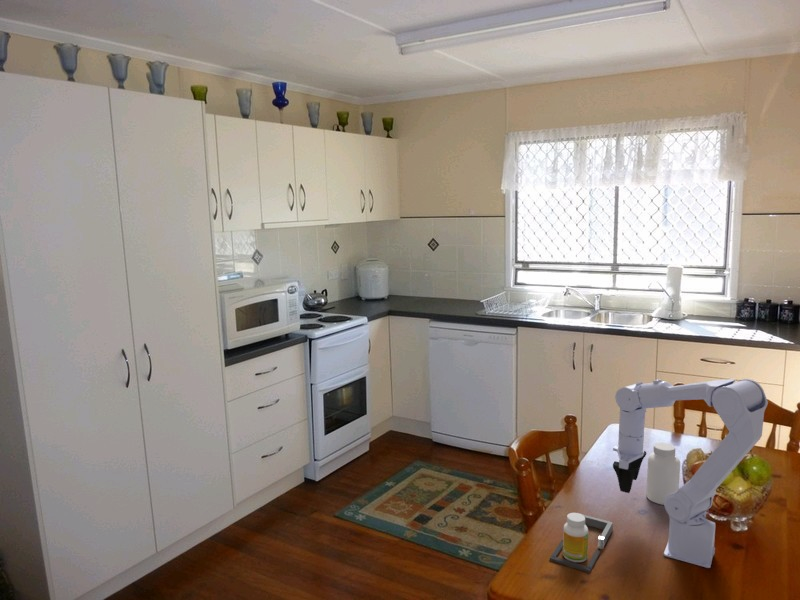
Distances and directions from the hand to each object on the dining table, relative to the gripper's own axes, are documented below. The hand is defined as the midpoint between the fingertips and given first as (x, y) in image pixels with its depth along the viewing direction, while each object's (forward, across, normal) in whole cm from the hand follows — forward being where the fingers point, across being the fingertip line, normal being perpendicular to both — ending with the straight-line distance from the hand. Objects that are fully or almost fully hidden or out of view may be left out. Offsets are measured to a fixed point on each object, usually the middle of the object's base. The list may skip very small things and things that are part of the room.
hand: (628, 485), depth 149 cm
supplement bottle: (+11, +20, -7) cm, 24 cm away
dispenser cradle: (+10, +9, -7) cm, 15 cm away
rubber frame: (+10, +20, -7) cm, 24 cm away
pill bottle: (+11, -18, +5) cm, 21 cm away
